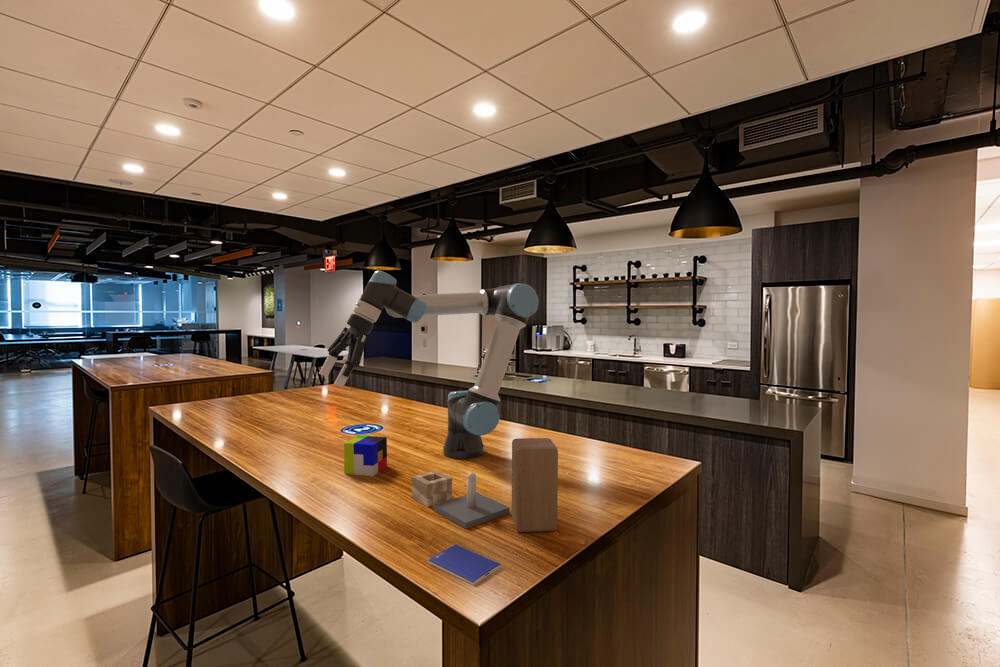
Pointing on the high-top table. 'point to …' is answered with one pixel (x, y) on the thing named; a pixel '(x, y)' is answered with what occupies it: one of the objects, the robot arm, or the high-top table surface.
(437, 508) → the post board
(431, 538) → the high-top table surface
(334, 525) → the high-top table surface
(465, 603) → the high-top table surface
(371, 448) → the puzzle toy
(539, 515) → the wooden block
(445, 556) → the hard drive
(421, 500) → the maple bead
